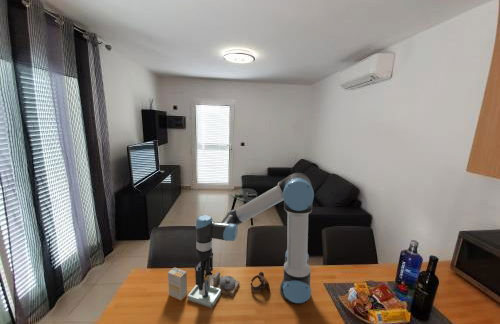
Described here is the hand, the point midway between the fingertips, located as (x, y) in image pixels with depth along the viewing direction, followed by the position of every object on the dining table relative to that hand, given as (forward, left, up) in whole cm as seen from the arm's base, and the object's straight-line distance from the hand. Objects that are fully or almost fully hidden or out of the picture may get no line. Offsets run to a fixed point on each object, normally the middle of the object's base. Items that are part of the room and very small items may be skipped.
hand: (204, 290), depth 106 cm
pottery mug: (-25, -16, -4) cm, 29 cm away
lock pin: (0, 0, -3) cm, 3 cm away
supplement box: (+13, +4, -4) cm, 14 cm away
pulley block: (-4, -10, -4) cm, 11 cm away
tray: (0, 0, -4) cm, 4 cm away
